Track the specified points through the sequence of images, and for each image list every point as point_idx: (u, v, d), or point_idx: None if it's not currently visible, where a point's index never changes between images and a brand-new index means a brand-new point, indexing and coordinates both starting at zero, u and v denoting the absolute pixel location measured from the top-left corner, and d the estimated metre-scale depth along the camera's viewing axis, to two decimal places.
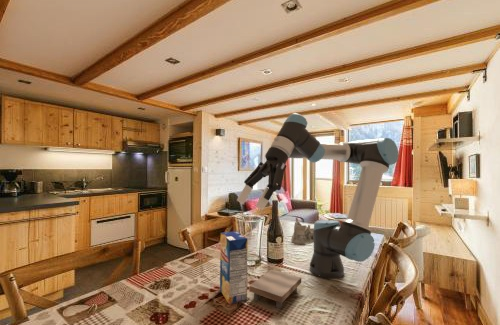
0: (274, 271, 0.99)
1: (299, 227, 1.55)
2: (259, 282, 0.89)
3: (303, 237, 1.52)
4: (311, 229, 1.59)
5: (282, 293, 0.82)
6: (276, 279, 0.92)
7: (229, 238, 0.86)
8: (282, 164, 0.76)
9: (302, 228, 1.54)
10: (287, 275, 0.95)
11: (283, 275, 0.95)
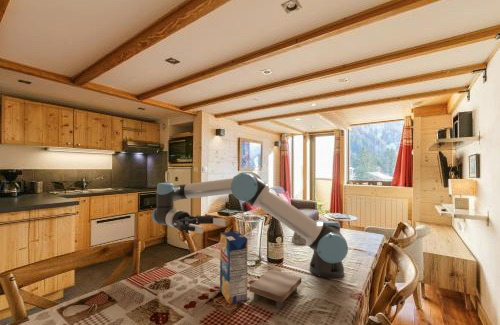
0: (274, 271, 0.99)
1: None
2: (259, 282, 0.89)
3: None
4: None
5: (282, 293, 0.82)
6: (276, 279, 0.92)
7: (229, 238, 0.86)
8: (174, 225, 0.99)
9: None
10: (287, 275, 0.95)
11: (283, 275, 0.95)
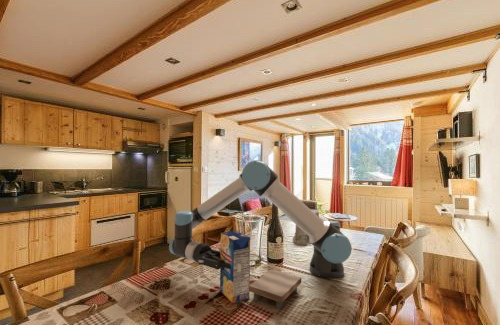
0: (274, 271, 0.99)
1: None
2: (259, 282, 0.89)
3: (305, 238, 1.50)
4: None
5: (282, 293, 0.82)
6: (276, 279, 0.92)
7: (232, 238, 0.87)
8: (200, 262, 0.91)
9: None
10: (287, 275, 0.95)
11: (283, 275, 0.95)
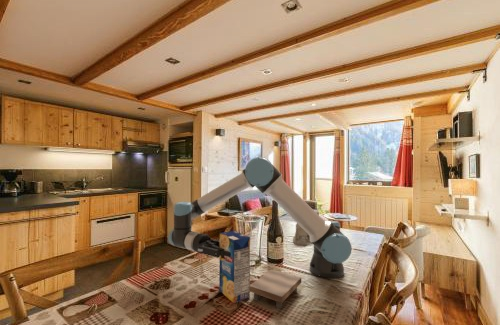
0: (274, 271, 0.99)
1: (301, 228, 1.53)
2: (259, 282, 0.89)
3: (305, 238, 1.50)
4: None
5: (282, 293, 0.82)
6: (276, 279, 0.92)
7: (232, 238, 0.87)
8: (199, 251, 0.91)
9: None
10: (287, 275, 0.95)
11: (283, 275, 0.95)
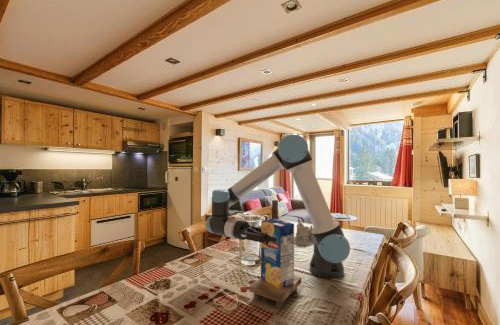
0: None
1: (302, 228, 1.52)
2: (259, 282, 0.89)
3: (306, 238, 1.49)
4: None
5: (282, 293, 0.82)
6: None
7: (277, 224, 0.87)
8: (242, 236, 0.91)
9: (305, 229, 1.51)
10: None
11: None
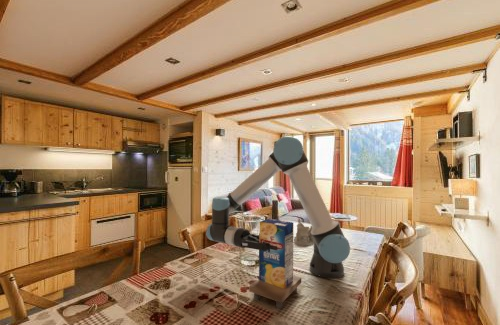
0: None
1: (302, 228, 1.52)
2: (259, 282, 0.89)
3: (307, 238, 1.49)
4: None
5: (282, 293, 0.82)
6: None
7: (280, 224, 0.87)
8: (244, 245, 0.91)
9: (305, 229, 1.51)
10: None
11: None
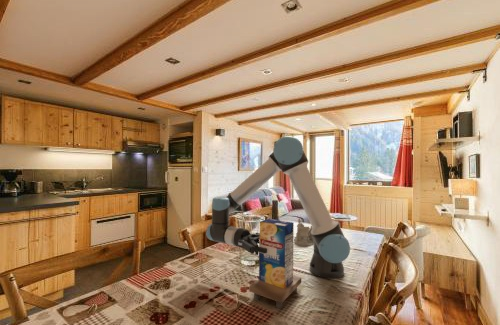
0: None
1: (302, 228, 1.51)
2: (259, 282, 0.89)
3: (307, 239, 1.48)
4: None
5: (282, 293, 0.82)
6: None
7: (280, 224, 0.87)
8: (239, 244, 0.92)
9: (305, 229, 1.51)
10: None
11: None
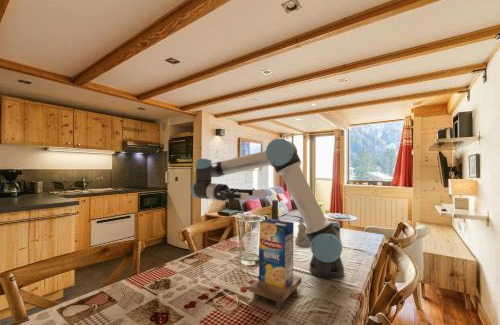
0: None
1: (304, 229, 1.50)
2: (259, 282, 0.89)
3: None
4: None
5: (282, 293, 0.82)
6: None
7: (280, 224, 0.87)
8: (217, 195, 1.03)
9: None
10: None
11: None
